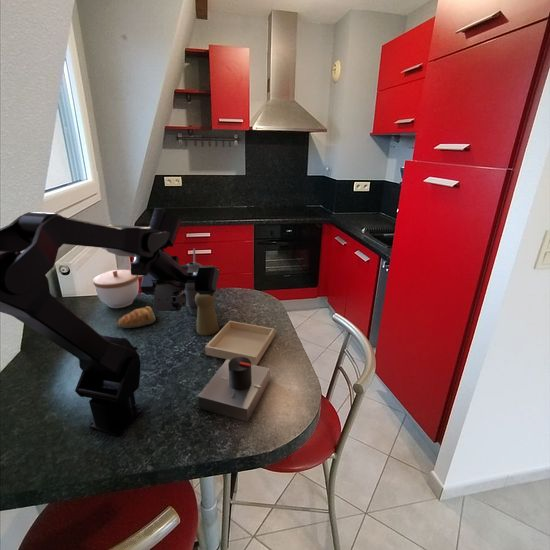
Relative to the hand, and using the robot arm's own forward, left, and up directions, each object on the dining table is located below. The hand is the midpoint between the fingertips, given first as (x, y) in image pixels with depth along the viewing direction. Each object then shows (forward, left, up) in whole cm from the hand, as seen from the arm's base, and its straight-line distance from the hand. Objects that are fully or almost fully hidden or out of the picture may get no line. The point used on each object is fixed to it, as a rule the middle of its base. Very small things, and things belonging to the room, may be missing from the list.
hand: (196, 294), depth 81 cm
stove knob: (-17, -20, -8) cm, 28 cm away
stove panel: (-17, -19, -12) cm, 28 cm away
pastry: (0, +19, -12) cm, 23 cm away
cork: (+3, -1, -12) cm, 12 cm away
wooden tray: (-1, -13, -12) cm, 17 cm away
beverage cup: (+11, +7, -12) cm, 18 cm away
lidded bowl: (+8, +33, -12) cm, 36 cm away
